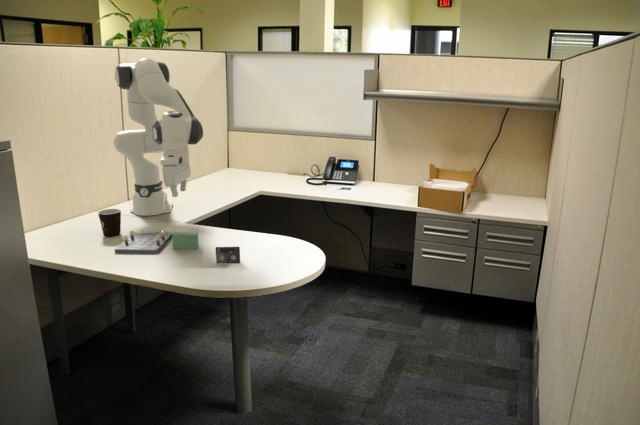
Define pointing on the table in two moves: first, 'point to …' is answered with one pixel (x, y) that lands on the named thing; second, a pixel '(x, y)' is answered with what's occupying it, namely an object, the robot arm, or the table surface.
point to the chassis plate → (144, 242)
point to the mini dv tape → (227, 255)
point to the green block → (185, 240)
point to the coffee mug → (110, 222)
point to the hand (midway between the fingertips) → (179, 193)
